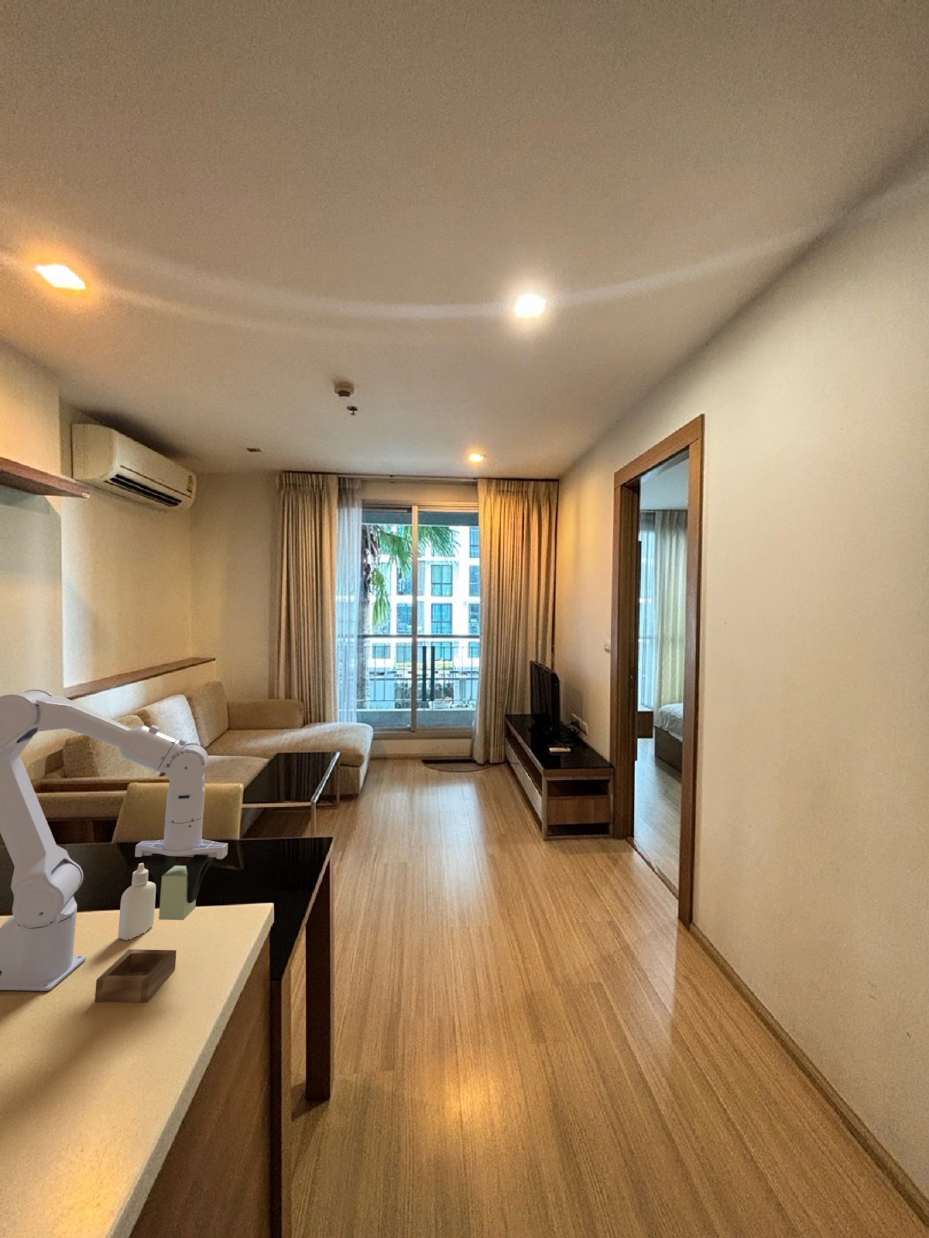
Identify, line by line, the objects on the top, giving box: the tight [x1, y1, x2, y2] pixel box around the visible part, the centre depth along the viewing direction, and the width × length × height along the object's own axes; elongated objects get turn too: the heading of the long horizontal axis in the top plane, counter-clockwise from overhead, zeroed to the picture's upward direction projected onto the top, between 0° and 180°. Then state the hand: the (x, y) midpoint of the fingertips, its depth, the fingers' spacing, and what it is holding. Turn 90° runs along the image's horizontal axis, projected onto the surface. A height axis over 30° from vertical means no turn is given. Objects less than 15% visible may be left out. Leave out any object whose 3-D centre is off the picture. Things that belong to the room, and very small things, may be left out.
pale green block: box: [158, 865, 197, 921], centre depth 86 cm, size 4×4×7 cm
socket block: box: [94, 948, 177, 1003], centre depth 77 cm, size 8×8×3 cm
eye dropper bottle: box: [117, 862, 157, 941], centre depth 91 cm, size 4×6×12 cm
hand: (178, 899), depth 86 cm, fingers closed on pale green block, 4 cm apart
